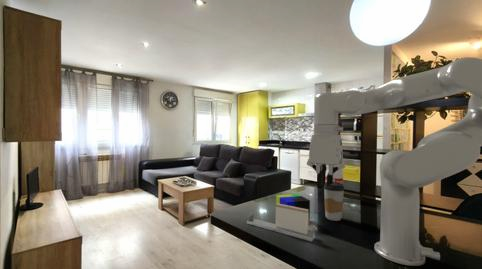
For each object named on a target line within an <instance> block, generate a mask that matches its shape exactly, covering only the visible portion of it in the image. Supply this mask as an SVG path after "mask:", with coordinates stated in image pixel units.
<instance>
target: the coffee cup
mask: <svg viewBox="0 0 482 269" xmlns="http://www.w3.org/2000/svg"><path fill="white" fill-rule="evenodd" d="M323 191H324V193H323V194H324V197H323V198H324V209H325V210H324V212H325V214H324V215H325V218H326V219H327V220H330V221H336V222H338V221H341V219H342V216H343V206H344V194H345V193H344V192H345V186H344V183H343V184H342V183H338V182H333V184H331V186H330V187H327V182H325V181H324V184H323Z"/></svg>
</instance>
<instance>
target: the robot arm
mask: <svg viewBox="0 0 482 269" xmlns="http://www.w3.org/2000/svg"><path fill="white" fill-rule="evenodd" d="M463 92H466V93H469V94H471V95H470V98H469V99H468V106H467V112H466V115H465V116H463V117H462V118H461V119H459V120H457V121H456V122H453V123H452V124H449V125H448V126H447V125H446V127H442V128H440V129H439V130H437V131H434V132H433V133H430V134H428V135H426V136H423V138H421V139H420V141H419V142H418V144H417V146H416V147H415V148H413V149H411V150H409V151H408V150H403V149H397V150H396V149H392V150H390V151H388V152H386V153H385V154H384V155H383V156H382V158H381V159H380V163H379V176H380V190H381V192H380V233H379V234H380V235H379V236H380V238H379V241H377V242H376V243H374V251H375V252H376V254H378V255H379V256H380V257H382V258H384V259H386V260H388V261H391V262H394V263H397V264H400V265H405V266H412V267H417V266H422V265H424V264H425V263H426V257H427V258H431V259H432V260H438V261H440V260H441V254H440V252H438V251H434V250H433V248H430V247H425V246H423V245H422V244H421V242H420V239H419V237H420V234H419V233H420V189H419V188H423V187H427V186H429V185H432V184H434V183H436V182H438V181H441V180H443V179H445V178H449V177H451V176H453V175H456V174H458V173H460V172H462V171H464V170H467V169H468V168H469V167H471V166H472V165H474V164H475V163H476V162H477V160H478V159H479V157H480V153H481V147H482V58H479V57H471V56H466V57H461V58H457V59H455V60H454V61H452V62H450V63H448V64H446V65H444V66H441V67H437V68H433V69H428V70H425V71H422V72H416V73H414V74H409V75H405V76H402V77H398V78H395V79H393V80H391V81H389V82H386V83H384V84H383V85H380V86H378V87H375V88H372V89H369V90H366V91H360V90H346V91H345V90H344V91H339V92H321V93H320V92H319V93H318V94H316V95H315V96H314V101H313V102H314V105H313V107H314V108H313V109H314V110H313V113H314V114H313V115H314V117H313V118H314V120H313V125H314V126H313V134H312V135H311V139H310V144H309V150H308V160H307V162H306V166H308V167H310V168H312V169H313V170H314V171H315V173H316V174H317V176H316V177H317V178H316V181H317V183H318V186H319V187H321V186H324V173H323V165H324V166H326V165H329V172H328V175H327V187H330V186H331V184H333V174H334V173H335V172H336V171H337V170H340V169H342V170H343V169H345V168H346V164H345V162H344V159H343V158H344V156H343V140H342V135H341V134H339V132H343V131H344V127H343V126H339V114H341V115H343V116H344V117H355V116H359V115H363V114H369V113H373V112H377V111H382V110H389V109H393V108H399V107H403V106H407V105H413V104H417V103H420V102H421V103H422V102H426V101H431V100H435V99H440V98H445V97H449V96H453V95H458V94H460V93H463ZM334 165H339V166H336V167H334Z"/></svg>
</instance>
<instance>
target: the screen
mask: <svg viewBox="0 0 482 269" xmlns="http://www.w3.org/2000/svg"><path fill="white" fill-rule="evenodd" d="M308 218H309V210H308V209H303V208H298V207H293V206H288V205H283V204H278V203H277V204H276V203H275V223H274V224H275V226H277V227H281V228H285V229H289V230H292V231H296V232H300V233H304V234H308V233H309V226H308Z"/></svg>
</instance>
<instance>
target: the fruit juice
mask: <svg viewBox="0 0 482 269" xmlns="http://www.w3.org/2000/svg"><path fill="white" fill-rule="evenodd" d="M336 166H339V165H334V167H336ZM325 167H326V170H325V177H324V178H325V181H324V183H325V182H327V175H328V172H329V165H325ZM333 182H338V183H342V184H343V185H344V172H343V169H340V170H337V171H336V172H335V173H334V174H333Z"/></svg>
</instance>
